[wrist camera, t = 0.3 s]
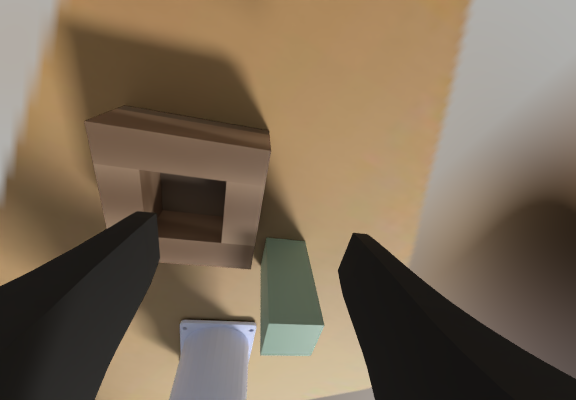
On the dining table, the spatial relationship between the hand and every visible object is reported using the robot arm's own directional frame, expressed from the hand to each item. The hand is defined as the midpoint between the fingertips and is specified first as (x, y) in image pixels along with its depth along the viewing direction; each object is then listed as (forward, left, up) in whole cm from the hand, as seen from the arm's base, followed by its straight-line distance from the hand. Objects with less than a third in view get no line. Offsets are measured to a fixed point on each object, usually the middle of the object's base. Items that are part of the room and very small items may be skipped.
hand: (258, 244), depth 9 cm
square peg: (-9, -3, -10) cm, 14 cm away
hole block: (-3, +4, -10) cm, 11 cm away
